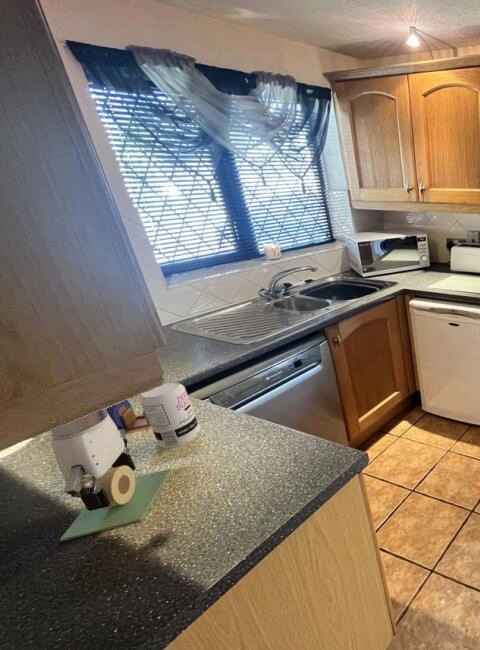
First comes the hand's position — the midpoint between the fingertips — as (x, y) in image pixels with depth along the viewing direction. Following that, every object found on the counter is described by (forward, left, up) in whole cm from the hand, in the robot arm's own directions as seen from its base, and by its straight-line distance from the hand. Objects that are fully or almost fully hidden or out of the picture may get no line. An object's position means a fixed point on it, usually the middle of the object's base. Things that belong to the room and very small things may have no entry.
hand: (113, 488), depth 77 cm
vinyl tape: (-12, +30, -3) cm, 32 cm away
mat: (0, 0, -4) cm, 4 cm away
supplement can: (+4, +19, -4) cm, 20 cm away
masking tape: (0, 0, -3) cm, 3 cm away
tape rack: (-10, +30, -4) cm, 32 cm away
